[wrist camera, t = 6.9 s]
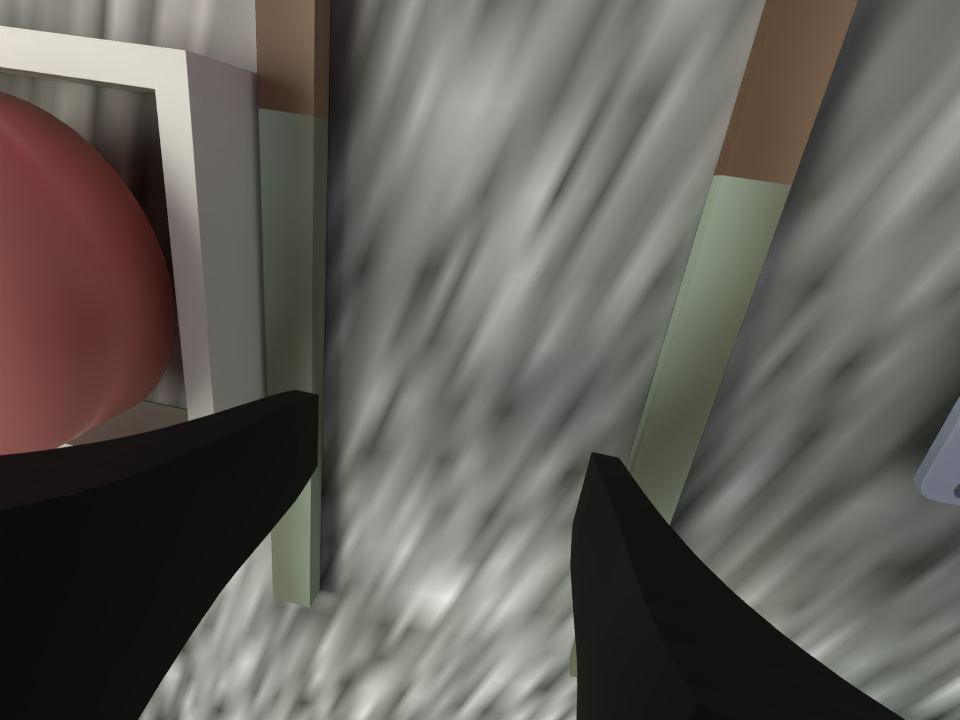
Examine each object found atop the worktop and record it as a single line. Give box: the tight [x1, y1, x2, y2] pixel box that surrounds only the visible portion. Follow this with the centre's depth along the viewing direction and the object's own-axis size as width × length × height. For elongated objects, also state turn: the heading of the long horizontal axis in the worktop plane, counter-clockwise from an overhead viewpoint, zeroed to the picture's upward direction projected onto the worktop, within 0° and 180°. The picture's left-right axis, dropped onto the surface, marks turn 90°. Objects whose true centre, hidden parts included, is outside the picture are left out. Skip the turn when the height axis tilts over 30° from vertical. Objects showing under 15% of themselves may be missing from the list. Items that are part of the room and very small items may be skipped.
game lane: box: [255, 0, 858, 677], centre depth 12 cm, size 13×34×1 cm, turn 172°
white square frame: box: [0, 26, 267, 448], centre depth 14 cm, size 12×12×3 cm
